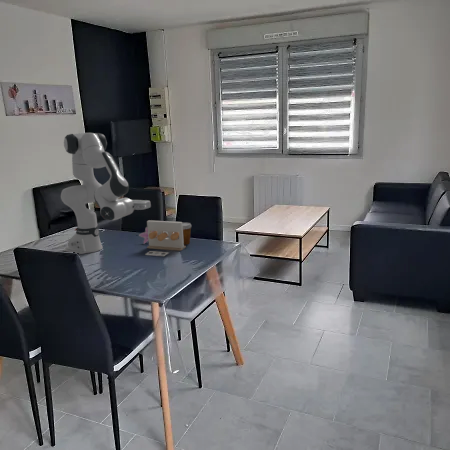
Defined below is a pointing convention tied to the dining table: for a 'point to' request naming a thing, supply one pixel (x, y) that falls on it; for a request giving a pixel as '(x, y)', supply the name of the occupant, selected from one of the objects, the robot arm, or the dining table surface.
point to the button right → (174, 236)
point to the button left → (153, 235)
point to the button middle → (162, 236)
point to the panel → (167, 242)
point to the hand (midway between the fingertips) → (138, 201)
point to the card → (157, 253)
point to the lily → (145, 235)
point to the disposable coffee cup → (186, 232)
